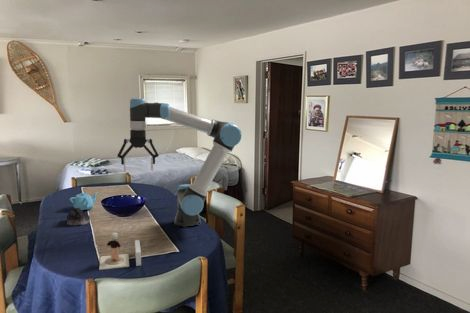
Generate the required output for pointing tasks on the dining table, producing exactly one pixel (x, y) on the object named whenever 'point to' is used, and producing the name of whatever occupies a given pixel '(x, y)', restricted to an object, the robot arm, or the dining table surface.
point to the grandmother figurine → (114, 247)
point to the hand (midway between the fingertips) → (138, 170)
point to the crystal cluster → (77, 217)
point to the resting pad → (108, 264)
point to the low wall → (137, 252)
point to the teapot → (83, 201)
